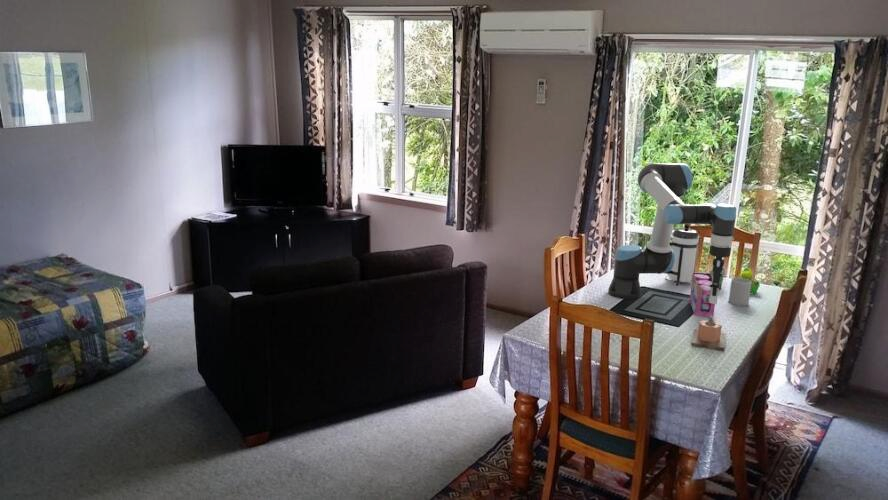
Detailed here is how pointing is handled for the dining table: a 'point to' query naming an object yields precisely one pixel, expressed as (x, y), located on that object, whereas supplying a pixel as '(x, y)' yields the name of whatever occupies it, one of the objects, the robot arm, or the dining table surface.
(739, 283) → the mug
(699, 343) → the peg board
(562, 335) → the dining table surface
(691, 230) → the coffee press
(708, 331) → the hex nut
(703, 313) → the gum box
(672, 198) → the robot arm
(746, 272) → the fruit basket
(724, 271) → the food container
